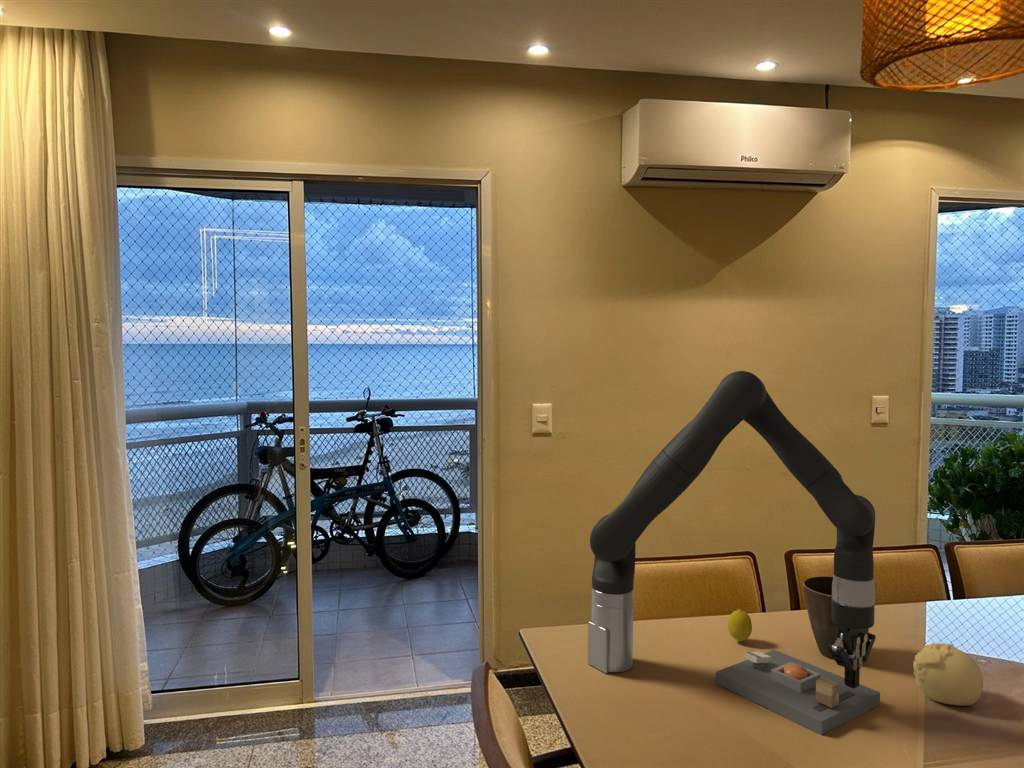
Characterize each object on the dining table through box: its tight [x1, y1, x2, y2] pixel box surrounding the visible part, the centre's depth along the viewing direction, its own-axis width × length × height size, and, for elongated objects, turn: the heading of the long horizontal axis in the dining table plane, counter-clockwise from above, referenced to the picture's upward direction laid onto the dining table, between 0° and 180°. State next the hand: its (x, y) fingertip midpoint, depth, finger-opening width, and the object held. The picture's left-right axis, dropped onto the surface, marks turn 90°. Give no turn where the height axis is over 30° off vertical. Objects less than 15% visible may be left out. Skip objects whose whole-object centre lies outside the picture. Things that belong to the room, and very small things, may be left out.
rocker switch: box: [744, 651, 771, 663], centre depth 148 cm, size 5×3×1 cm, turn 124°
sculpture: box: [912, 642, 984, 707], centre depth 139 cm, size 12×12×11 cm
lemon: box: [727, 608, 753, 643], centre depth 166 cm, size 6×6×8 cm
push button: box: [784, 665, 807, 680], centre depth 141 cm, size 4×4×2 cm
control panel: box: [715, 649, 881, 736], centre depth 141 cm, size 20×24×4 cm
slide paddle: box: [816, 677, 839, 708], centre depth 131 cm, size 2×3×4 cm
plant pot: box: [802, 576, 838, 661], centre depth 159 cm, size 15×15×16 cm
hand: (851, 686), depth 135 cm, fingers closed
